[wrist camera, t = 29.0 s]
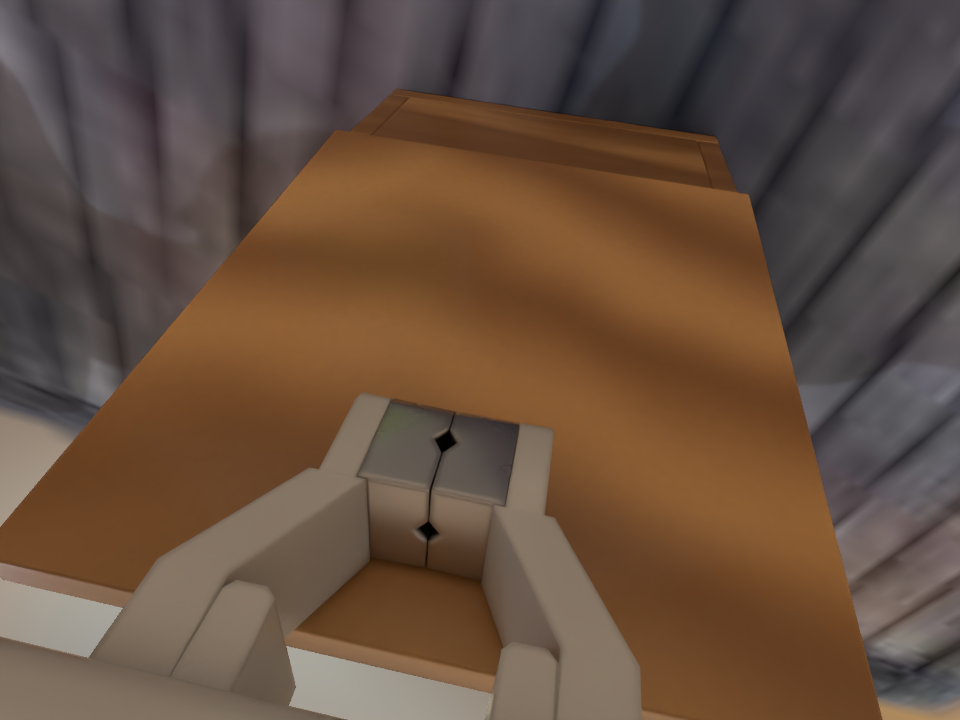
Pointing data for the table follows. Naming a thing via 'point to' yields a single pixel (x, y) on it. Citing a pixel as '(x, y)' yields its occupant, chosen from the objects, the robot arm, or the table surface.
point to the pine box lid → (497, 394)
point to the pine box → (551, 138)
